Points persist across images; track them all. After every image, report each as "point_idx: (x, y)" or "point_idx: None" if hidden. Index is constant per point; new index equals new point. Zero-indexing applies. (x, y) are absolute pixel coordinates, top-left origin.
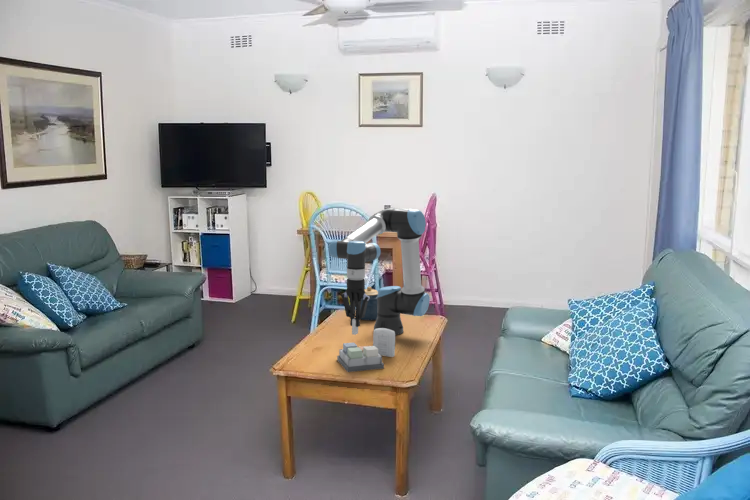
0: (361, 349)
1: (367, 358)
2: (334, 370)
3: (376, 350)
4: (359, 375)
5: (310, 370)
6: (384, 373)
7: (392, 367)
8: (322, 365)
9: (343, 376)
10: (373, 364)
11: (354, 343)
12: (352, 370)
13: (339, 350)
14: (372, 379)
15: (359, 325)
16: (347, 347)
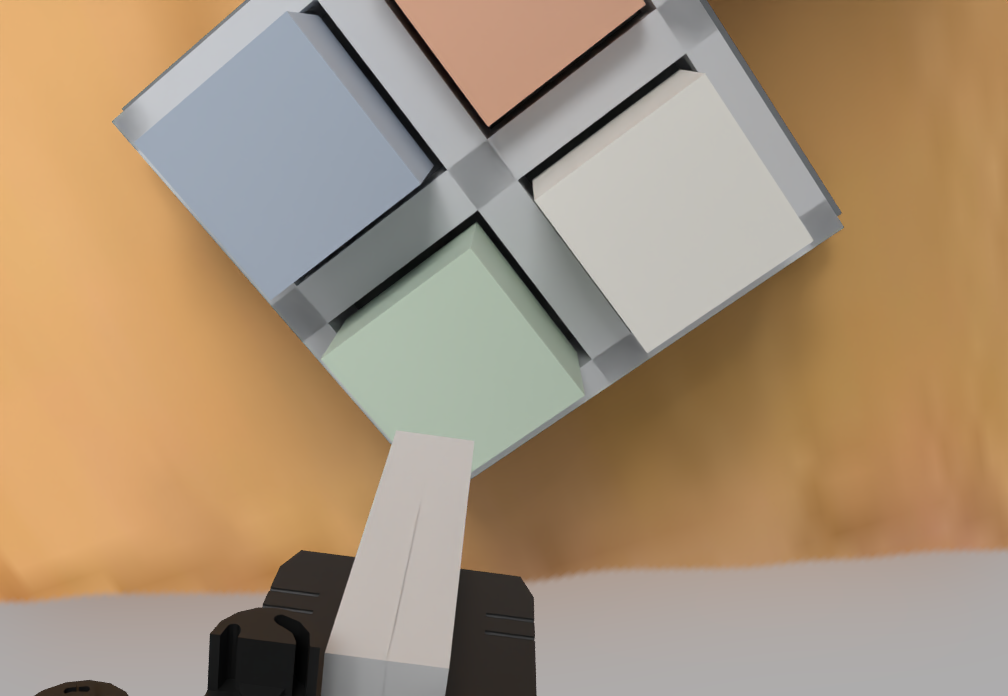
0: (474, 106)
1: (652, 352)
2: (291, 452)
3: (781, 253)
4: (603, 502)
5: (59, 531)
6: (858, 360)
7: (921, 124)
8: (86, 350)
9: None
10: None
11: (319, 70)
12: None
13: (125, 131)
14: (767, 561)
15: (526, 612)
16: (289, 284)
